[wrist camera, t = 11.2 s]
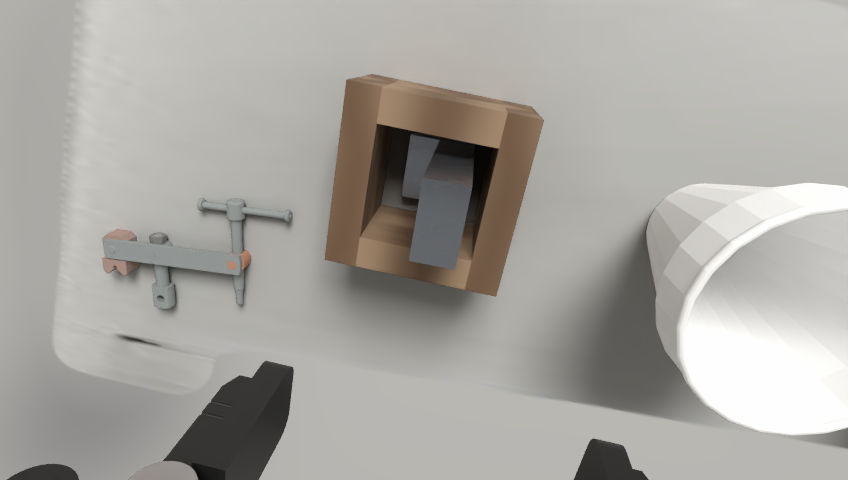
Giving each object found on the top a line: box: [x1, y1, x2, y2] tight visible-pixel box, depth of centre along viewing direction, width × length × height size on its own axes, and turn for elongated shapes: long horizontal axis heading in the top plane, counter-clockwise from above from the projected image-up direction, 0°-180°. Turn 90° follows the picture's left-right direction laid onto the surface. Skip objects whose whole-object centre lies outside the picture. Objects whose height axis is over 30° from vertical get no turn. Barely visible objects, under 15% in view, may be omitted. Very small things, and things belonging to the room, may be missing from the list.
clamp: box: [102, 198, 292, 309], centre depth 39 cm, size 15×2×10 cm
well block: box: [325, 74, 544, 296], centre depth 32 cm, size 11×11×7 cm
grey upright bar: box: [401, 132, 475, 270], centre depth 30 cm, size 4×4×12 cm
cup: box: [646, 183, 848, 436], centre depth 29 cm, size 12×12×14 cm
